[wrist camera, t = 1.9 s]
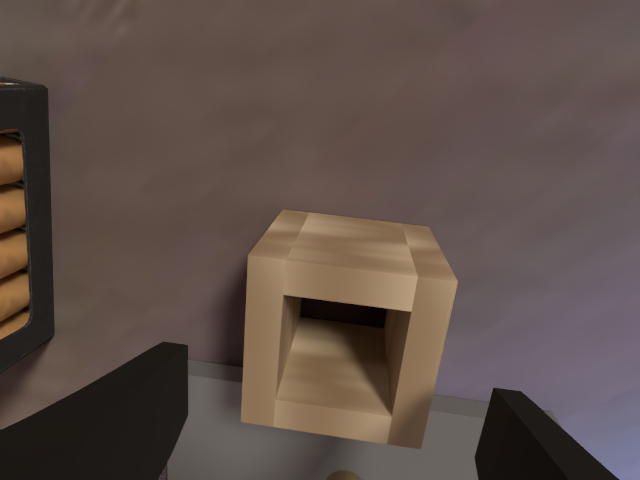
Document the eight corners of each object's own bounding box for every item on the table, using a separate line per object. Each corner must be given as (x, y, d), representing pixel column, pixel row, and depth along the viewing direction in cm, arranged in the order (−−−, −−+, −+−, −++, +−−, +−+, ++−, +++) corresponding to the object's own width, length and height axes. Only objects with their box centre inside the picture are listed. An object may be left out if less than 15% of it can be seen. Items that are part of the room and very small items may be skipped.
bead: (428, 226, 15) (457, 281, 10) (404, 352, 17) (421, 449, 12) (283, 209, 16) (247, 255, 11) (274, 335, 17) (240, 421, 13)
